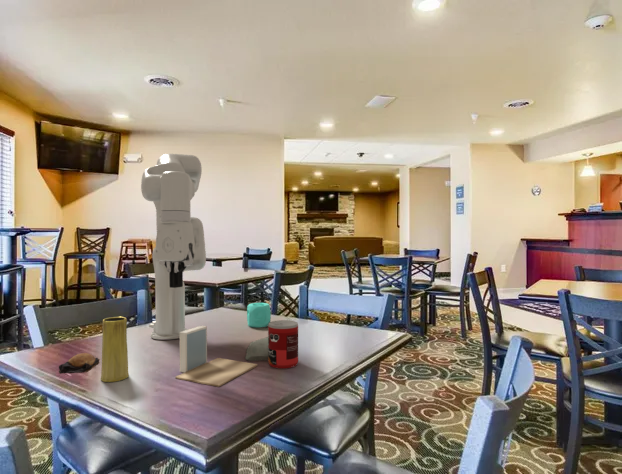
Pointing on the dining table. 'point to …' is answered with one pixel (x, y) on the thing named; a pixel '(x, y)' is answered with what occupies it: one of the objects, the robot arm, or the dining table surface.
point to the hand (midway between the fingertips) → (176, 287)
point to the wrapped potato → (79, 363)
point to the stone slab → (258, 350)
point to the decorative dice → (258, 315)
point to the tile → (193, 348)
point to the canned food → (283, 344)
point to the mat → (217, 372)
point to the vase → (114, 350)
